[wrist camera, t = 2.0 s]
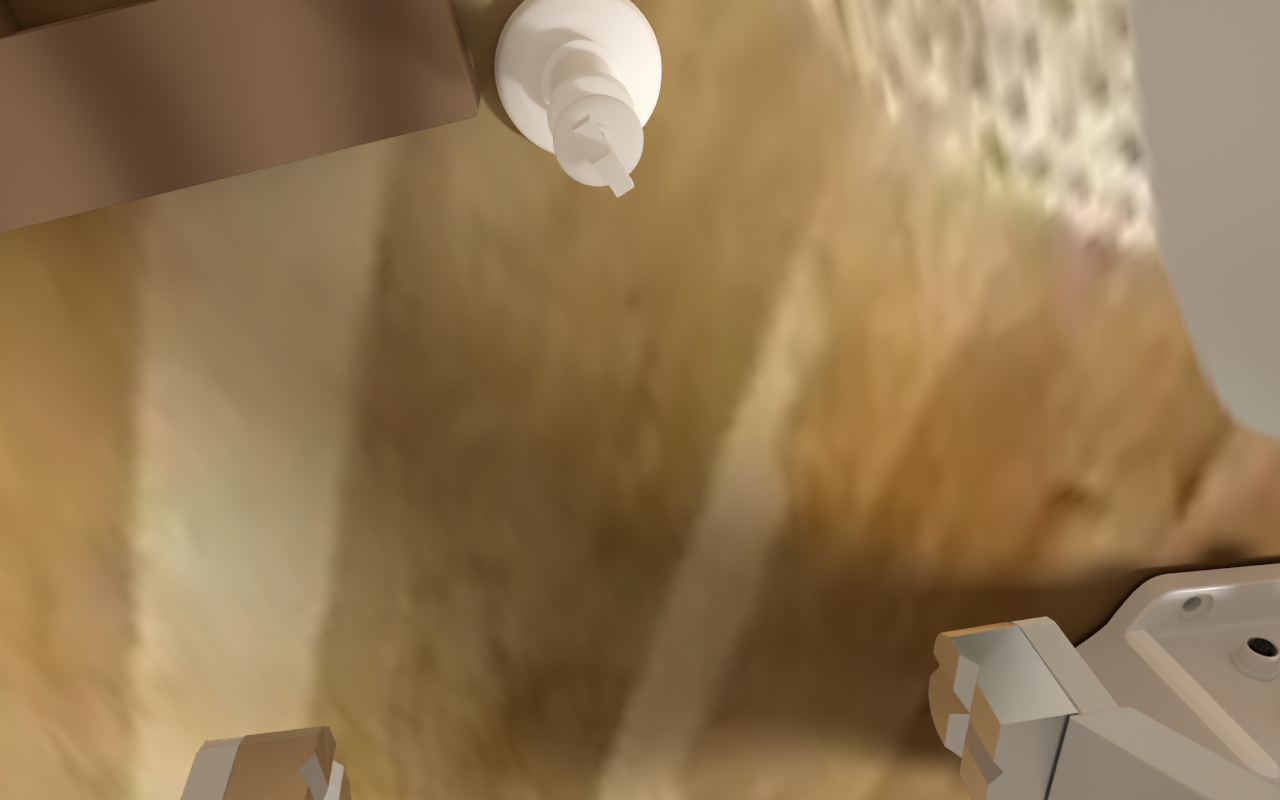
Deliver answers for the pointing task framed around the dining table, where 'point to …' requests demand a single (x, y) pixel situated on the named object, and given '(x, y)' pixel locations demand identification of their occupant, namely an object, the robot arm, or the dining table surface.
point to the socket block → (212, 93)
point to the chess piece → (581, 84)
